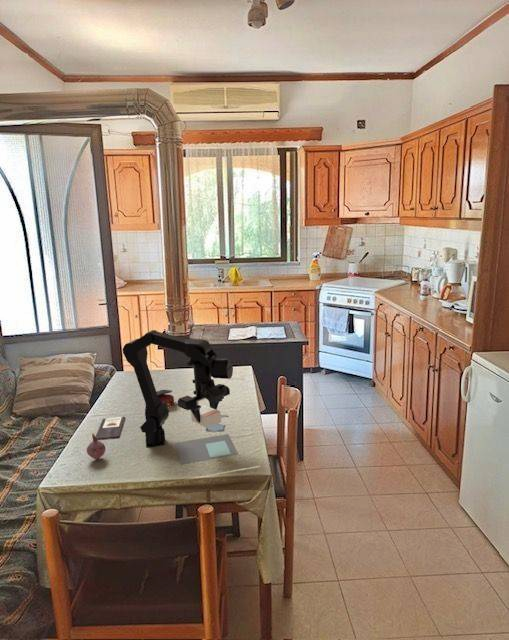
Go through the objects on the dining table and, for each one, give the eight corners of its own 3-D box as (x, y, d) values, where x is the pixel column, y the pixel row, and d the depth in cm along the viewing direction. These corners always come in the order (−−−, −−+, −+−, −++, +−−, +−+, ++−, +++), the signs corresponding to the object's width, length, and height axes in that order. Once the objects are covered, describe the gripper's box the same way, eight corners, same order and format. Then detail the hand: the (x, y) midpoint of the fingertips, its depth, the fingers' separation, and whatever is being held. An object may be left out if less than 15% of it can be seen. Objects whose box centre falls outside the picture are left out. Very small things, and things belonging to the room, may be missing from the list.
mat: (180, 465, 156) (180, 464, 156) (175, 443, 171) (174, 442, 171) (238, 455, 161) (238, 453, 161) (228, 435, 176) (228, 433, 176)
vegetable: (90, 455, 165) (87, 429, 163) (108, 454, 165) (105, 428, 163) (85, 464, 159) (82, 437, 157) (104, 463, 159) (101, 436, 157)
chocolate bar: (94, 438, 176) (102, 418, 194) (94, 441, 176) (103, 420, 194) (119, 436, 177) (125, 416, 195) (119, 438, 178) (125, 418, 195)
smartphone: (228, 415, 193) (223, 431, 178) (229, 417, 193) (224, 433, 178) (211, 415, 193) (204, 430, 179) (211, 417, 194) (204, 433, 179)
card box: (191, 420, 165) (190, 409, 164) (205, 415, 169) (204, 404, 168) (207, 428, 158) (206, 416, 157) (221, 422, 162) (220, 411, 161)
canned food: (153, 418, 205) (141, 399, 203) (163, 406, 214) (151, 388, 212) (173, 408, 201) (161, 390, 199) (182, 397, 210) (170, 379, 208)
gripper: (194, 390, 148) (198, 435, 151) (238, 374, 160) (241, 416, 164) (174, 382, 156) (179, 425, 159) (218, 368, 168) (221, 408, 172)
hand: (206, 419), depth 163 cm, fingers closed on card box, 6 cm apart
